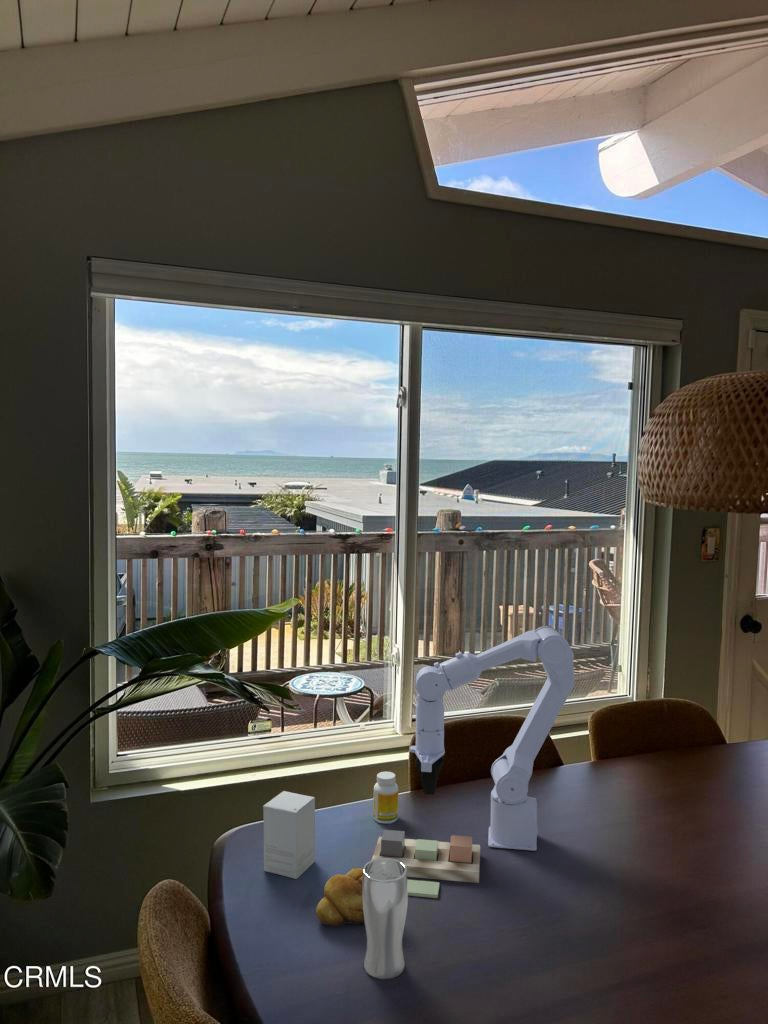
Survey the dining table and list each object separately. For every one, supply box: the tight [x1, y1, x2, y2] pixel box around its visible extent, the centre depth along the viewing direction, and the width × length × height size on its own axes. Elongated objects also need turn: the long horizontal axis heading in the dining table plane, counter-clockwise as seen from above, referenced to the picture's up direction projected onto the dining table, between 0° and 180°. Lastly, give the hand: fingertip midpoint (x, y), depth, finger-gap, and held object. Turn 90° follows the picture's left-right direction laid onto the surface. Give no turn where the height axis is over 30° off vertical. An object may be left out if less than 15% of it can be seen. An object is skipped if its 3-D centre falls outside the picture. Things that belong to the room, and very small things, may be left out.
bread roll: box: [315, 867, 364, 927], centre depth 123 cm, size 13×10×8 cm
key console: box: [371, 836, 481, 884], centre depth 139 cm, size 20×10×2 cm, turn 81°
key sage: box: [415, 838, 439, 861], centre depth 139 cm, size 4×4×3 cm
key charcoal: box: [381, 829, 406, 858], centre depth 140 cm, size 4×4×3 cm
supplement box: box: [262, 790, 316, 880], centre depth 138 cm, size 7×7×13 cm
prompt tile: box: [407, 878, 440, 899], centre depth 130 cm, size 6×4×1 cm, turn 81°
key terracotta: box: [449, 834, 473, 864], centre depth 138 cm, size 4×4×3 cm
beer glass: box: [362, 858, 409, 980], centre depth 110 cm, size 7×7×15 cm
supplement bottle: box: [372, 771, 399, 825], centre depth 157 cm, size 5×5×10 cm
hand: (429, 793), depth 148 cm, fingers closed
